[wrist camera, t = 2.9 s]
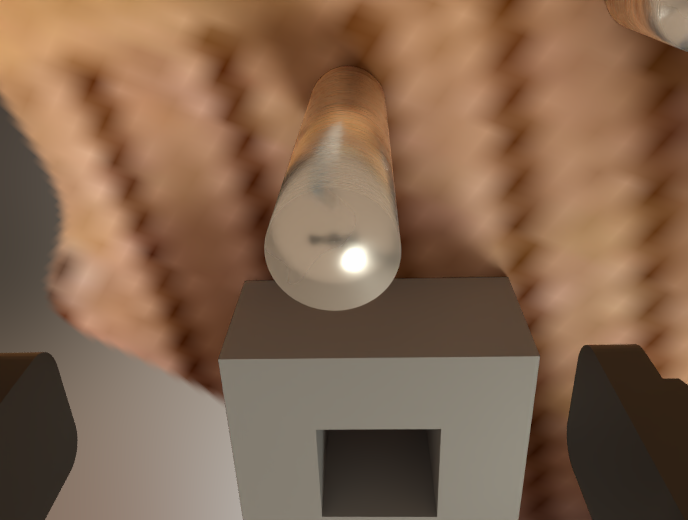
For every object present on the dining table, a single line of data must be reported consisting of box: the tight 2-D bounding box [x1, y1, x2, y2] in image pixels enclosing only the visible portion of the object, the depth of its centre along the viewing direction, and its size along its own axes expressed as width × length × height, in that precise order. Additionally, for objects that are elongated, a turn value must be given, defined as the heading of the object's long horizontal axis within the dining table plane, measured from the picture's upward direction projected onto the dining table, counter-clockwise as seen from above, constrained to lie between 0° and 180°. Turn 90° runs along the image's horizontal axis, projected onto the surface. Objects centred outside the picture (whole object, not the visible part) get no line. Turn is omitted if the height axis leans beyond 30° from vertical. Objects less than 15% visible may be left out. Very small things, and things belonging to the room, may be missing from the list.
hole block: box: [218, 277, 540, 520], centre depth 29 cm, size 12×12×6 cm
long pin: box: [264, 66, 401, 311], centre depth 20 cm, size 3×3×13 cm
